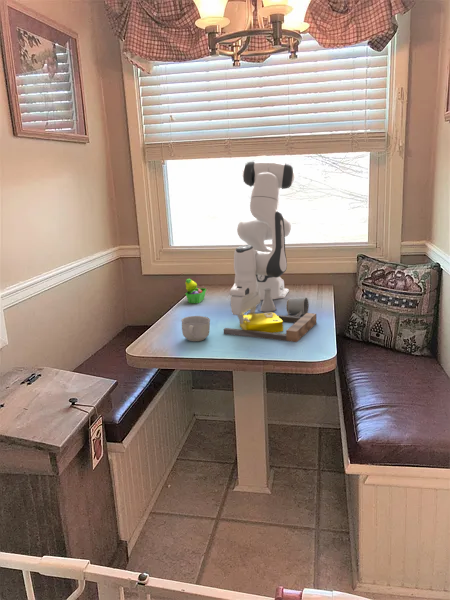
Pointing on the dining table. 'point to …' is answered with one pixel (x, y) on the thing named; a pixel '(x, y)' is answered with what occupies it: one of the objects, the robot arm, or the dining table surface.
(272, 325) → the element tile
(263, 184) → the robot arm
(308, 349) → the dining table surface
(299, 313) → the ceramic mug
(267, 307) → the flask
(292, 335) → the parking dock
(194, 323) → the teacup
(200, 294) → the fruit basket
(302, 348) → the dining table surface
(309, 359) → the dining table surface
